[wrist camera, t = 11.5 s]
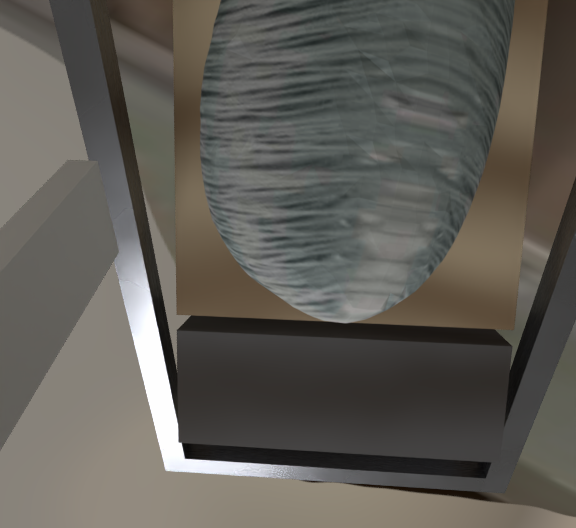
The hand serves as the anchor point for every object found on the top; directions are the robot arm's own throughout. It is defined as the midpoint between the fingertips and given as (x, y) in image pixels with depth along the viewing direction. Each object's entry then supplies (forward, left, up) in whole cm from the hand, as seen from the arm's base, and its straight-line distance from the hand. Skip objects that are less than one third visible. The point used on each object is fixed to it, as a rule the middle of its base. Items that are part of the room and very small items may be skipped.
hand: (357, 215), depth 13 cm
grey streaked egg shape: (0, +1, -9) cm, 9 cm away
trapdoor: (0, +7, -12) cm, 14 cm away
